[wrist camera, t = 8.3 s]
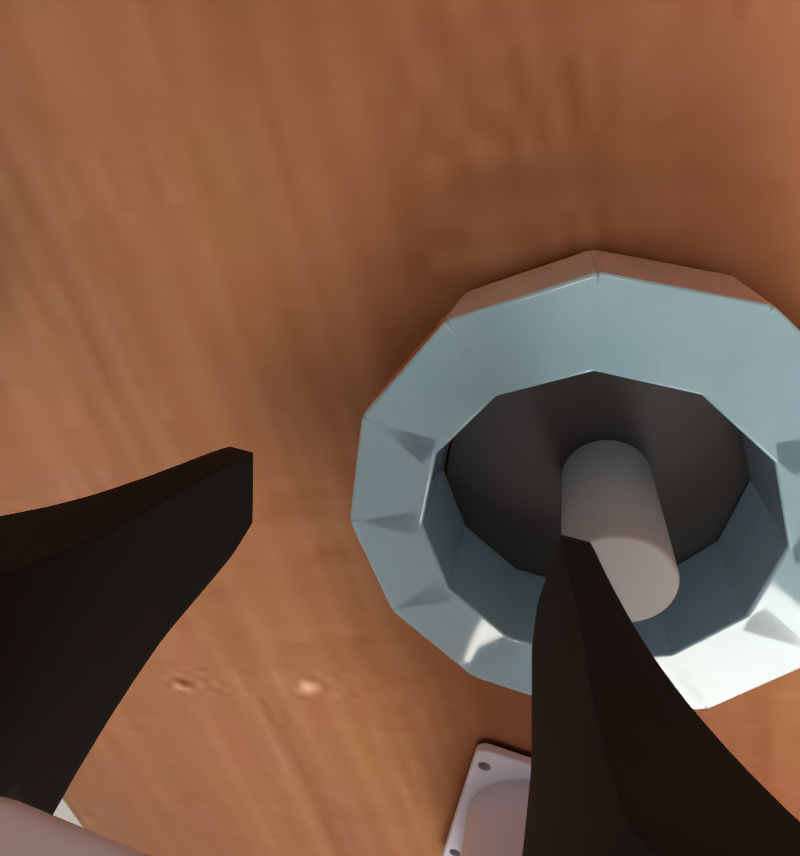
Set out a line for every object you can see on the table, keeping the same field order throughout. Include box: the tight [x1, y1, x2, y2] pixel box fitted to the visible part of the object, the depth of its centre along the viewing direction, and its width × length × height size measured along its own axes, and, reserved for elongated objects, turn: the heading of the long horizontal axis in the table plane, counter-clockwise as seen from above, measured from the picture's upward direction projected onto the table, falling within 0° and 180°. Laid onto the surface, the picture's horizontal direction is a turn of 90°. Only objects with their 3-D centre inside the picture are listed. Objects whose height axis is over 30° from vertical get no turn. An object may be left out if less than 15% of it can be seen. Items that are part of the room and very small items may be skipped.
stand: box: [445, 283, 750, 622], centre depth 14 cm, size 9×9×6 cm
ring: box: [350, 250, 800, 710], centre depth 15 cm, size 12×12×3 cm
